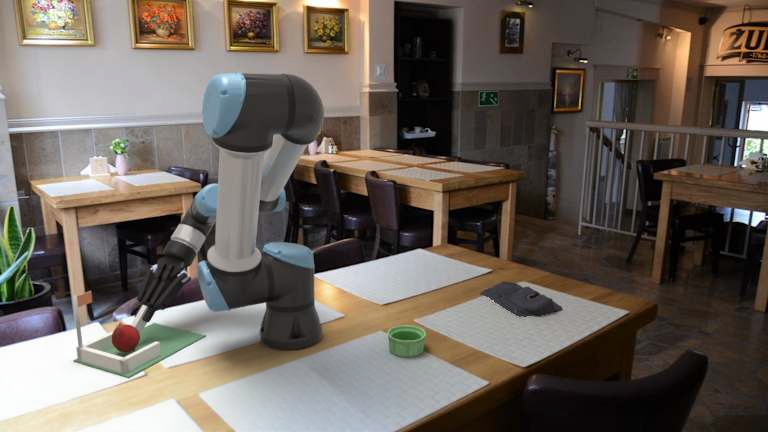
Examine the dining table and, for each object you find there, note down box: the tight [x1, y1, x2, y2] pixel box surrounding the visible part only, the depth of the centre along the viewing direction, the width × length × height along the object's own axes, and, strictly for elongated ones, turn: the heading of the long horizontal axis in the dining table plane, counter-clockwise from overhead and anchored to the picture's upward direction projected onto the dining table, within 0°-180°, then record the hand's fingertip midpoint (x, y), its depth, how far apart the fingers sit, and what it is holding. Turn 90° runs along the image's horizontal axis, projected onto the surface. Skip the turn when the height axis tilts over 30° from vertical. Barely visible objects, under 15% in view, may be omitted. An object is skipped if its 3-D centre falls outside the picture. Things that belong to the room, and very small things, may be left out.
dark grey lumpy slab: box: [479, 281, 563, 318], centre depth 165 cm, size 15×22×5 cm
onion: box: [112, 321, 140, 352], centre depth 130 cm, size 6×6×8 cm
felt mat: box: [73, 322, 206, 379], centre depth 134 cm, size 17×23×1 cm
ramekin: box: [386, 324, 427, 358], centre depth 134 cm, size 9×9×4 cm
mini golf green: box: [72, 290, 161, 374], centre depth 128 cm, size 14×10×15 cm
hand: (133, 332), depth 134 cm, fingers closed
